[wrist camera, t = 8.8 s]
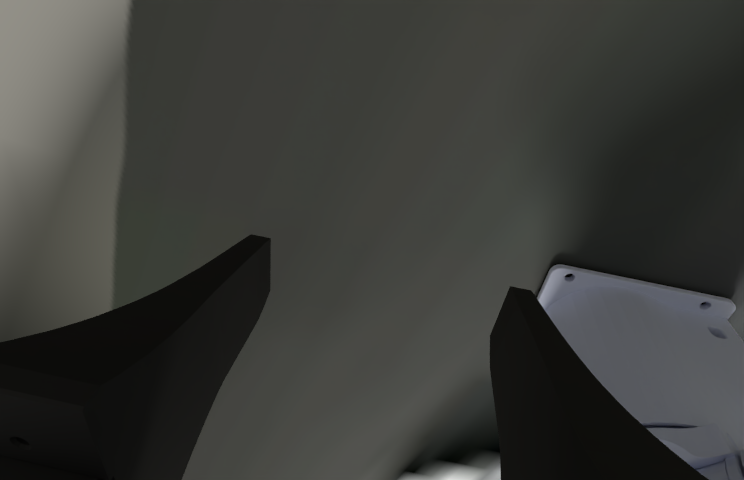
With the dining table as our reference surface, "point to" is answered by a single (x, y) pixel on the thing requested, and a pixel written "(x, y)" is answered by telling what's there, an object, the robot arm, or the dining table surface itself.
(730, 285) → the dining table surface
